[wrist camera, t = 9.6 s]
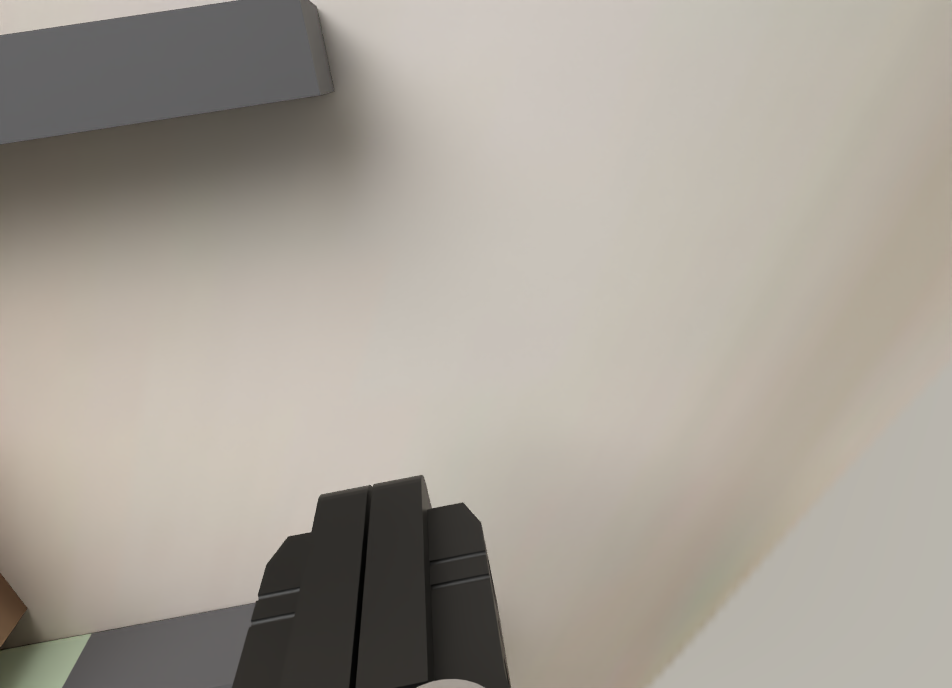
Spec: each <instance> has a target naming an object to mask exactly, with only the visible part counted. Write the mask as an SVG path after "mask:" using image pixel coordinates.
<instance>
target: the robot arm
mask: <svg viewBox="0 0 952 688" xmlns="http://www.w3.org/2000/svg"><path fill="white" fill-rule="evenodd" d="M258 597H259V600H258V601H256V604H255V607H254V611H253V614H252V618H251V627H249V629H248V632H247V636H246V639H245V643H244V646H243V650H242V653H241V657H240V660H239V664H238V668H237V671H236V675H235V678H234V682H233V685H232V688H511V684H510V678H509V672H508V666H507V661H506V654H505V648H504V642H503V636H502V630H501V624H500V618H499V612H498V606H497V600H496V595H495V590H494V585H493V580H492V575H491V570H490V565H489V560H488V555H487V550H486V545H485V540H484V535H483V530H482V525H481V522H480V521H479V520H478V519H477V518H476V516H475V515H474V514H473V513H472V512H471V511H470V510H469V509H468V508H467V506H466V505H465V504H464V503H458V504H453V505H448V506H443V507H437V508H431V503H430V499H429V495H428V491H427V486H426V483H425V479H424V477H423V475H419V476H414V477H409V478H403V479H398V480H393V481H388V482H383V483H378V484H374V485H373V487H372V486H371V485H368V486H363V487H358V488H353V489H347V490H342V491H337V492H332V493H327V494H322V495H320V497H319V499H318V503H317V508H316V513H315V517H314V522H313V527H312V532H310V533H305V534H300V535H294V536H289V537H287V539H286V540H285V541H284V543H283V544H282V545H281V547H280V548H279V549H278V550H277V552H276V553H275V554H274V556H273V557H272V558H271V560H270V561H269V562H268V563H267V565H266V568H265V572H264V575H263V579H262V582H261V586H260V589H259V593H258Z"/></svg>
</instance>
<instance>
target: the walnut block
mask: <svg viewBox="0 0 952 688" xmlns="http://www.w3.org/2000/svg"><path fill="white" fill-rule="evenodd" d="M26 610H27V607H26V606H25V605H24V603H23V602H22V601H21V599H20V598H19V597H18V595H17V594H16V593H15V591H14V590H13V589H12V588H11V586H10V585H9V584H8V582H7V581H6V580H5V578H4V577H3V576H2V575H1V573H0V647H1V646H2V644H3V643H4V641H5V640H6V639H7V637H8V636H9V634H10V633H11V631H12V630H13V629H14V627H15V626H16V624H17V623H18V621H19V620H20V618H21V617H22V616H23V614H24V613H25V611H26Z"/></svg>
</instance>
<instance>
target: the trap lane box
mask: <svg viewBox="0 0 952 688" xmlns="http://www.w3.org/2000/svg"><path fill="white" fill-rule="evenodd" d="M333 91H334V87H333V83H332V78H331V73H330V68H329V64H328V59H327V54H326V49H325V44H324V40H323V35H322V30H321V25H320V21H319V16H318V11H317V6H315V5H314V4H313V3H312V2H310V1H309V0H238V1H231V2H224V3H217V4H210V5H203V6H197V7H190V8H183V9H176V10H169V11H163V12H156V13H149V14H142V15H135V16H128V17H122V18H115V19H108V20H101V21H94V22H87V23H81V24H74V25H67V26H60V27H53V28H46V29H40V30H33V31H26V32H19V33H12V34H5V35H0V144H6V143H13V142H19V141H26V140H32V139H39V138H45V137H52V136H58V135H65V134H71V133H78V132H84V131H91V130H97V129H104V128H110V127H117V126H123V125H130V124H136V123H143V122H149V121H156V120H162V119H169V118H175V117H182V116H188V115H195V114H201V113H208V112H215V111H221V110H228V109H234V108H241V107H247V106H254V105H260V104H267V103H273V102H280V101H286V100H293V99H299V98H306V97H312V96H319V95H323V94H326V93H330V92H333ZM255 604H256V603H252V604H247V605H242V606H236V607H231V608H225V609H220V610H215V611H209V612H204V613H199V614H193V615H188V616H183V617H177V618H172V619H166V620H161V621H156V622H150V623H145V624H140V625H134V626H129V627H124V628H118V629H113V630H107V631H102V632H97V633H91V634H86V635H81V636H75V637H70V638H65V639H59V640H54V641H49V642H43V643H38V644H32V645H27V646H22V647H16V648H11V649H6V650H0V688H232V685H233V682H234V678H235V675H236V671H237V668H238V664H239V660H240V657H241V653H242V650H243V646H244V643H245V639H246V636H247V632H248V629H249V627H251V618H252V614H253V611H254V607H255Z"/></svg>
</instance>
